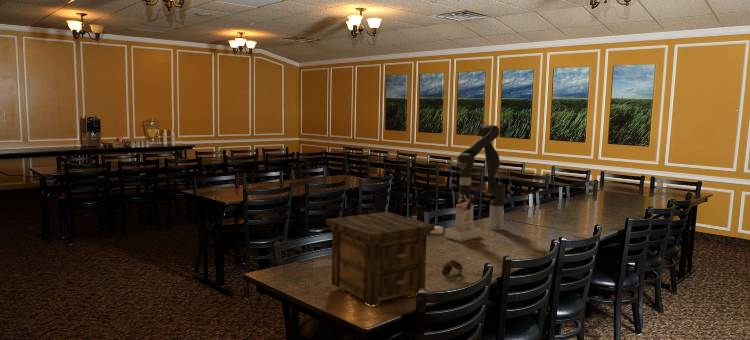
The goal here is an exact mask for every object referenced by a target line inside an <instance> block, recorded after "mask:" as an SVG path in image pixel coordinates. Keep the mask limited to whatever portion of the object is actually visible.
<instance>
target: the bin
mask: <svg viewBox="0 0 750 340" xmlns="http://www.w3.org/2000/svg"><path fill="white" fill-rule="evenodd" d="M444 235H445V236H444V238H446V239H449V240H451V241H455V242H464V241H469V240H475V239H479V238H481V237H482V236H481V235H482V228H480V227H476V226H472V225H471V230H469V231H464V232H457V231H455V226H453V227H449V228H445V233H444Z"/></svg>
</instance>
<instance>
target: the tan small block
mask: <svg viewBox="0 0 750 340" xmlns="http://www.w3.org/2000/svg"><path fill="white" fill-rule="evenodd" d="M443 233H444V227H443V226H440V225H435V228H434V231H431V235H432V234H433V235H442V234H443Z"/></svg>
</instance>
